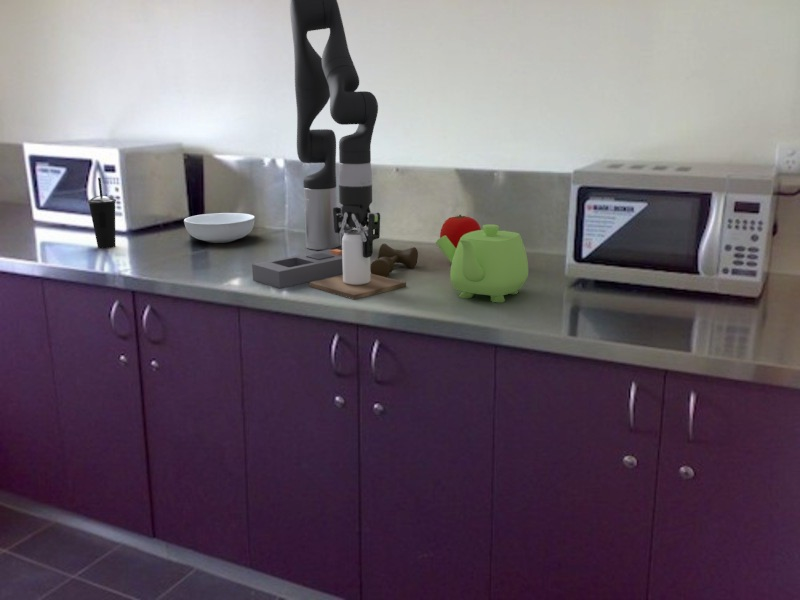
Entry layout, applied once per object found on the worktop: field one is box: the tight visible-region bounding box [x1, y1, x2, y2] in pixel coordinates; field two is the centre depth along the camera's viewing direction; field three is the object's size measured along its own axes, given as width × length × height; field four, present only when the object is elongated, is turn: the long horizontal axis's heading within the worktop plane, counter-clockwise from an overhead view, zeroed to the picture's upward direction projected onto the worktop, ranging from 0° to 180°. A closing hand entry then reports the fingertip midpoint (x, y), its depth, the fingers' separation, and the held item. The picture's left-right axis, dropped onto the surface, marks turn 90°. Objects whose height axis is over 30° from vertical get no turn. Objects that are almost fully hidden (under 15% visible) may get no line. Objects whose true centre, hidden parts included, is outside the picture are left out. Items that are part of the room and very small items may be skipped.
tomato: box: [439, 214, 482, 248], centre depth 205 cm, size 11×11×13 cm
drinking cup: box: [87, 177, 117, 249], centre depth 226 cm, size 8×8×20 cm
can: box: [341, 228, 371, 285], centre depth 182 cm, size 6×6×12 cm
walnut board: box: [308, 272, 407, 300], centre depth 184 cm, size 16×16×1 cm
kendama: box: [370, 243, 419, 278], centre depth 200 cm, size 6×10×20 cm
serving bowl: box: [183, 212, 256, 244], centre depth 237 cm, size 21×21×7 cm
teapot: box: [435, 223, 529, 303], centre depth 175 cm, size 25×22×16 cm
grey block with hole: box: [251, 248, 343, 289], centre depth 194 cm, size 24×11×5 cm, turn 134°
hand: (356, 254), depth 182 cm, fingers open, 7 cm apart
